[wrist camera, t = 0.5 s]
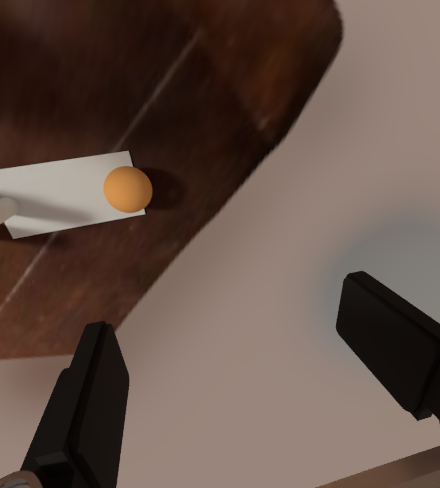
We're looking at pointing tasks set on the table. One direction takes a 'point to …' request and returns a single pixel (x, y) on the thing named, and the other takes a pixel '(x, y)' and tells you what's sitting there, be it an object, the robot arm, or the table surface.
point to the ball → (127, 189)
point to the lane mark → (61, 194)
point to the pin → (8, 208)
